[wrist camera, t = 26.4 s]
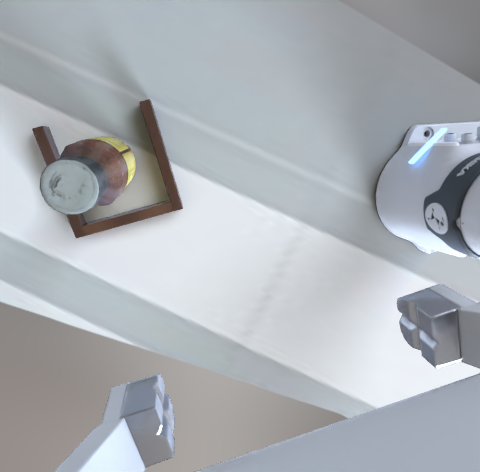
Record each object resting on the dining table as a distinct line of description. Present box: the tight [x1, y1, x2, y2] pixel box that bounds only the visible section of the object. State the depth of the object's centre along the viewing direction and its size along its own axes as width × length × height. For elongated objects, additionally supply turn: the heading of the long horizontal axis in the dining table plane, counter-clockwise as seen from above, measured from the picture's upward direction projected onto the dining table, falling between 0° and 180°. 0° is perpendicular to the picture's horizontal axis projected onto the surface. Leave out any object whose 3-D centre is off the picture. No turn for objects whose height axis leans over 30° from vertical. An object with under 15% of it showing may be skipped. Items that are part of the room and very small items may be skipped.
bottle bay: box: [32, 99, 183, 238], centre depth 43 cm, size 13×13×2 cm
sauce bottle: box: [40, 137, 136, 214], centre depth 35 cm, size 7×6×20 cm
